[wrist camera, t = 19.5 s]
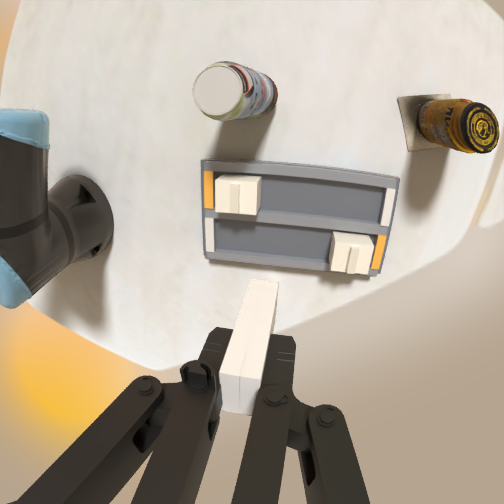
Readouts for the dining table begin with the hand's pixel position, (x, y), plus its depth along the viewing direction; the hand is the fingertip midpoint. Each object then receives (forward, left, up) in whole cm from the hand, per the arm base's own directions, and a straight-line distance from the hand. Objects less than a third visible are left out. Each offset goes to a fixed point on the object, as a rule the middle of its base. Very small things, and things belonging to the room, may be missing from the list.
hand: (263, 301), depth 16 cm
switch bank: (+1, -3, -24) cm, 25 cm away
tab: (+9, -6, -23) cm, 25 cm away
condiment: (+18, +12, -25) cm, 33 cm away
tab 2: (-6, 0, -23) cm, 24 cm away
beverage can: (-6, +12, -25) cm, 28 cm away
